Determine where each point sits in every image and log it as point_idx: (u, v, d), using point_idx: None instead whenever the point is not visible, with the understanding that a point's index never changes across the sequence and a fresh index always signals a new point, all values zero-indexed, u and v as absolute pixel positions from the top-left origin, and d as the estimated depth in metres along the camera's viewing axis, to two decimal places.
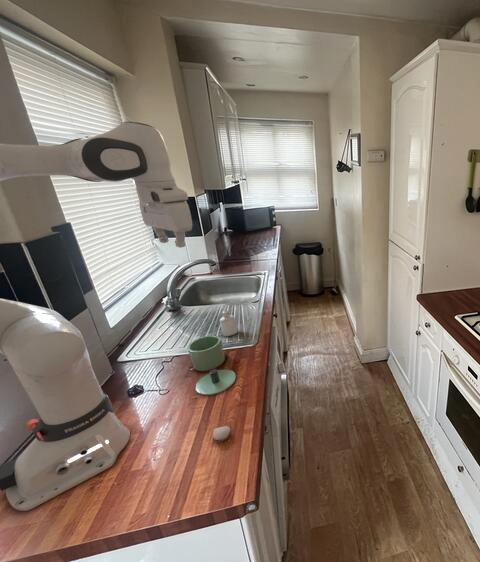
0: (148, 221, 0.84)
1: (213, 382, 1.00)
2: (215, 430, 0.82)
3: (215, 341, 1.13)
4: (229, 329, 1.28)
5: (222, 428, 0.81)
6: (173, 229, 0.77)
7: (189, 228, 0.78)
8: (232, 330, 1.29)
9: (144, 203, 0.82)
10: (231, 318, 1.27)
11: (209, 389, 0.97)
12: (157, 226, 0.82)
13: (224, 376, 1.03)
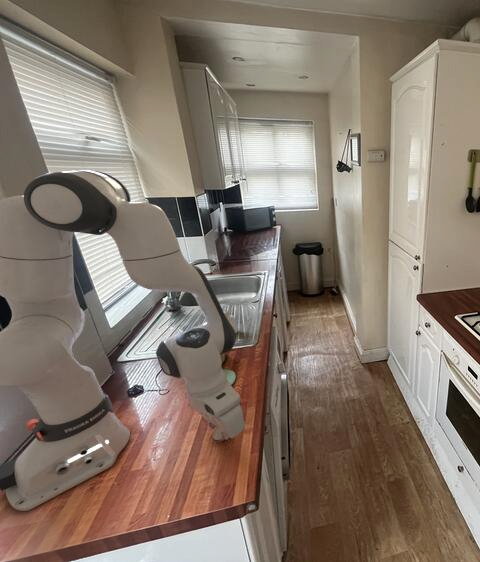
0: (195, 408, 0.81)
1: None
2: (215, 430, 0.82)
3: None
4: None
5: None
6: (226, 433, 0.74)
7: (242, 430, 0.75)
8: None
9: None
10: (231, 318, 1.27)
11: None
12: (206, 418, 0.79)
13: None
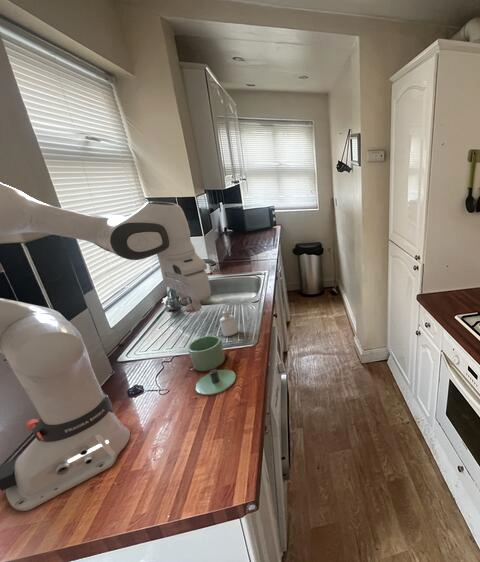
0: (169, 284, 0.89)
1: (213, 382, 1.00)
2: (187, 305, 0.90)
3: (215, 341, 1.13)
4: (229, 329, 1.28)
5: None
6: (193, 297, 0.82)
7: (208, 296, 0.83)
8: (232, 330, 1.29)
9: None
10: (231, 318, 1.27)
11: (209, 389, 0.97)
12: (177, 290, 0.87)
13: (224, 376, 1.03)
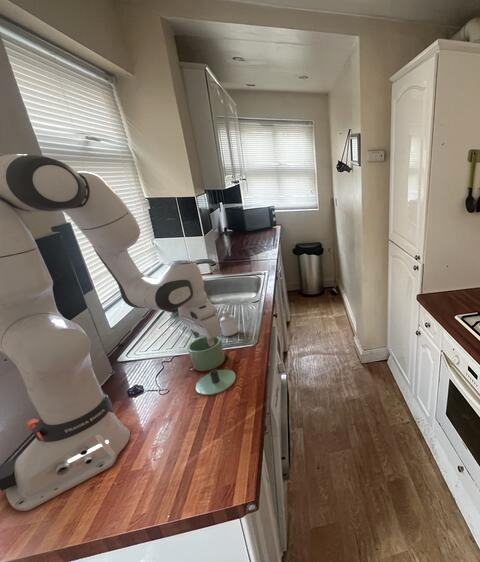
0: (184, 323, 1.08)
1: (213, 382, 1.00)
2: None
3: (215, 341, 1.13)
4: (229, 329, 1.28)
5: None
6: (206, 336, 1.01)
7: (218, 334, 1.02)
8: (232, 330, 1.29)
9: None
10: (231, 318, 1.27)
11: (209, 389, 0.97)
12: (192, 329, 1.06)
13: (224, 376, 1.03)
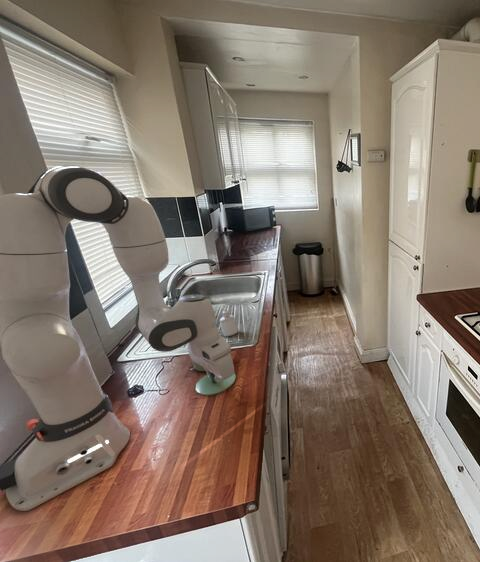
0: (195, 359, 1.00)
1: (213, 382, 1.00)
2: None
3: None
4: (229, 329, 1.28)
5: None
6: (219, 376, 0.93)
7: (232, 374, 0.94)
8: (232, 330, 1.29)
9: None
10: (231, 318, 1.27)
11: (209, 389, 0.97)
12: (203, 367, 0.98)
13: None
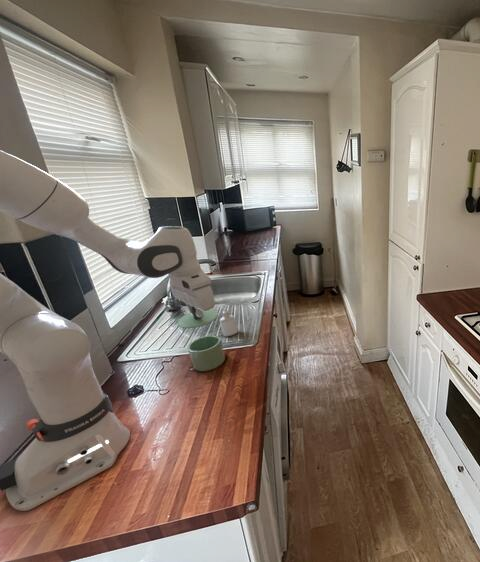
0: (177, 296, 1.01)
1: (195, 318, 1.01)
2: None
3: (215, 341, 1.13)
4: (229, 329, 1.28)
5: None
6: (199, 308, 0.94)
7: (212, 306, 0.95)
8: (232, 330, 1.29)
9: None
10: (231, 318, 1.27)
11: (191, 323, 0.99)
12: (185, 302, 0.99)
13: (206, 314, 1.04)
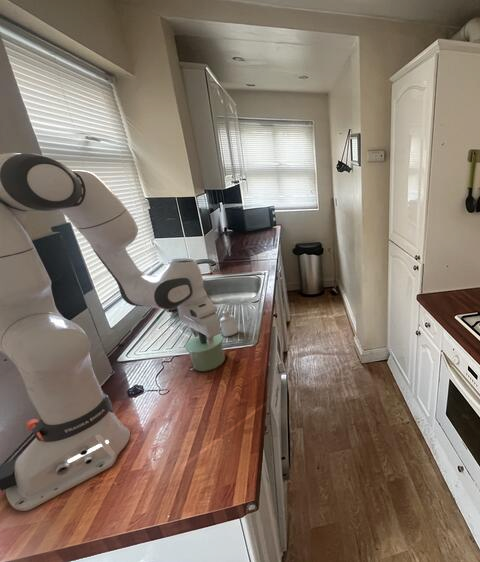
0: (184, 321, 1.08)
1: (201, 342, 1.07)
2: None
3: None
4: (229, 329, 1.28)
5: None
6: (206, 334, 1.01)
7: (218, 333, 1.02)
8: (232, 330, 1.29)
9: None
10: (231, 318, 1.27)
11: (198, 348, 1.05)
12: (192, 327, 1.06)
13: None
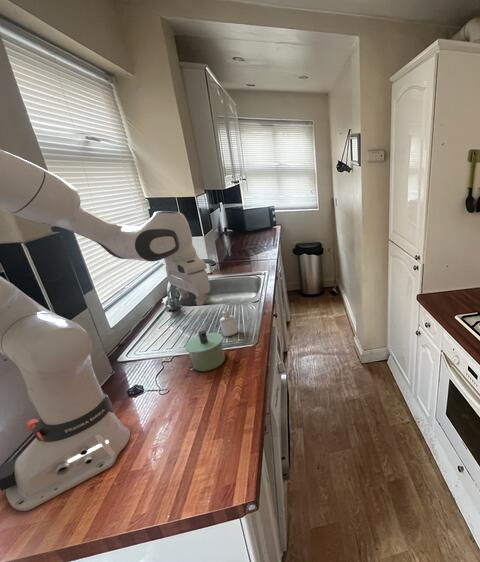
0: (173, 282, 1.02)
1: (201, 342, 1.07)
2: None
3: None
4: (229, 329, 1.28)
5: None
6: (195, 293, 0.95)
7: (207, 291, 0.96)
8: (232, 330, 1.29)
9: None
10: (231, 318, 1.27)
11: (198, 348, 1.05)
12: (181, 287, 1.00)
13: (212, 338, 1.11)
